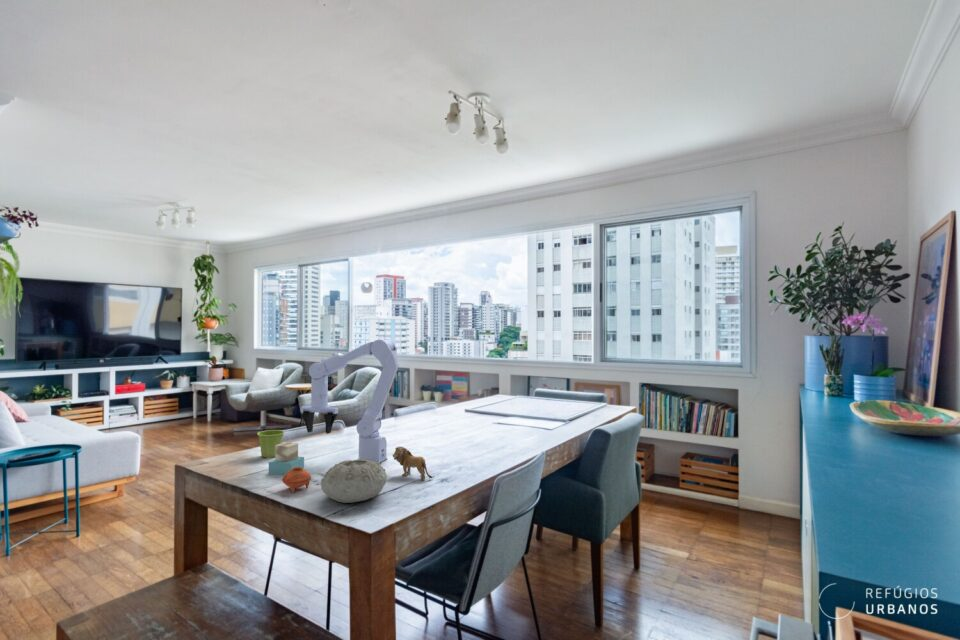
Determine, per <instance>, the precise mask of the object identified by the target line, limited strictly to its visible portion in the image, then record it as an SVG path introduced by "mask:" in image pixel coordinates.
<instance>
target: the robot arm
mask: <svg viewBox="0 0 960 640" xmlns="http://www.w3.org/2000/svg"><path fill="white" fill-rule="evenodd" d="M397 351H398V348H397V347H396V345H395V343H394V342H393V340H391V339H389V338H386V339H376V340H374V341H370V342H367V343H364V344H363V345H360V346H357V348H354V349H352V350H350V351H348V352H346V353H344V354H343V353H341V352H338V353H337V352H334V353H332V354H331V355H330V357H328V358H322V359H320V362H314V363H312V364H311V365H310V366H309V369H308V375H309V376H310V377H311V381H310V382H311V383H310V384H311V385H310V386H311V388H310V389H311V391H310V395H311V398H310V399H311V401H310V405H302V406H300V413H301V414H300V416H301V418H302V419H303V421H304V422H303V423H304V424H305V427H306V430H307V431H306V432H307V433H312V432H313V431H314V430H313V429H314V417H315V413H316V414H317V413H319V414H323V417H324V418H323V419H324V422H325V423H324V424H325V434H327V435H328V434H331V433H332V429H333V424H334V423H335V420H336V419H337V416H338V414H339V407H333V406H328V403H329V402H328V399H329V396H328V395H329V393H328V390H329V387H328V386H329V383H328V382H329V376H330V375H331V374H334V373H336V372H338V371H340V370H342V369H344V368H346V367H347V365H348V363H350V362H352V361H354V360H356V359H359V358H361V357H364V356H366V355H368V356H374V357H375V358H376V359H377V360H378V361H379V363H380V365H381V366H382V369H381V373H380V376H379V378H378V381H377V383H376V387H375V389H374V390H373V391H374V392H373V394H372V397H371V400H370V403H369V405H368V407H367V409H366V410H365V412H364V413H363V416H362V418H361V419H360V420H359V421H358V422H357V425H356V432H357V434H358V458H356V459H355V460H359V459H367V460H371V461H374V462H376V463H379V464H380V463H382V462H384V461H385V460H387V459H388V457H387V445H388V443H387V439H386V437H385V436H381V435H380V431H379V430H380V429H381V427H382V418H383V409H384V406H385V404H386V402H387V399H388V396H389V393H390V390H391V388H392V385H393V383H394V380H395V377H396V374H397V372H398V370H399V366H400V365H399V364H400V363H399V360H398V355H397V354H398V353H397Z"/></svg>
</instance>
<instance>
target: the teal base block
mask: <svg viewBox="0 0 960 640" xmlns="http://www.w3.org/2000/svg"><path fill="white" fill-rule="evenodd" d="M294 467H302V468H303V469H304V468H305V456H298V458H297V459H294V460H291V461H289V462H284V461H276V460H275V459H272V460H270V461H268V474H269V475H285V474H286V473H287V472H288V471H290V469H292V468H294Z"/></svg>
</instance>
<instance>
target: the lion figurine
mask: <svg viewBox="0 0 960 640" xmlns="http://www.w3.org/2000/svg"><path fill="white" fill-rule="evenodd" d="M392 458H393V459H394V460H396V462H398V463H399V465H400V466H402V469H403V472H404V473H402V475H401V476H402V477H407V476H408V475H409V474H411V468H413V469H414V468H416V469H417V472H419V474H420V477H421V478H420V481H425V479H426V476H425V475H427V477H428V478H429V479H433V476H432V475H430V474H429V473H428V470H427V464H426V460H425V458H424V457H422V456H415V455H413V454H412V452H411V451H410V450H408V449H407V448H405V447H404V446H396V447H395V450H394V453H393V454H392Z"/></svg>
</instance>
